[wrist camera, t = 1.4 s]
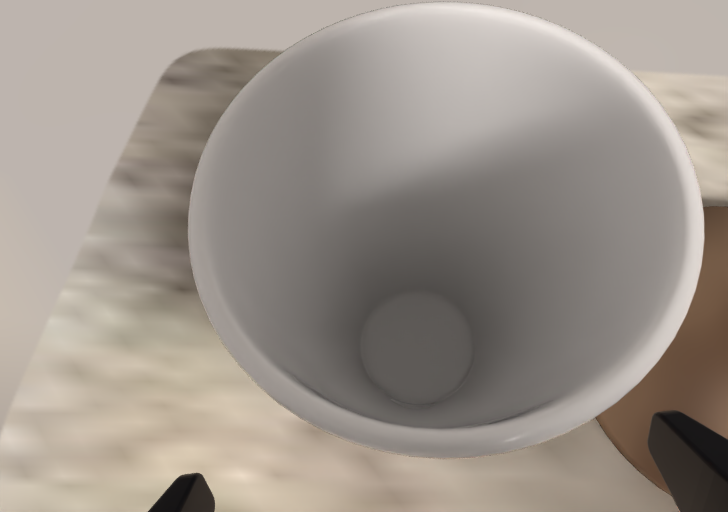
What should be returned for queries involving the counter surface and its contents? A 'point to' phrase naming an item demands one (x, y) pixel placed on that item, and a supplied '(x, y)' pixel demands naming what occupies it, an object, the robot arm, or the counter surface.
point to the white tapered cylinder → (446, 230)
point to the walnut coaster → (684, 363)
